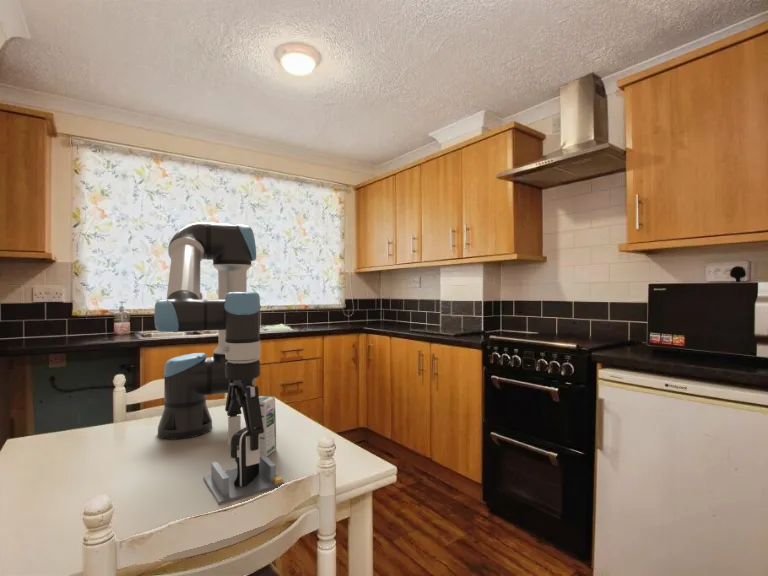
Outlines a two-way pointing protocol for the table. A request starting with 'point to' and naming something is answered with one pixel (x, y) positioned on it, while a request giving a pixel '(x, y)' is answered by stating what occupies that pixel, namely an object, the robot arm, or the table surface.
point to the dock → (227, 491)
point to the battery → (242, 459)
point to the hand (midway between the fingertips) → (243, 453)
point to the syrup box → (268, 425)
